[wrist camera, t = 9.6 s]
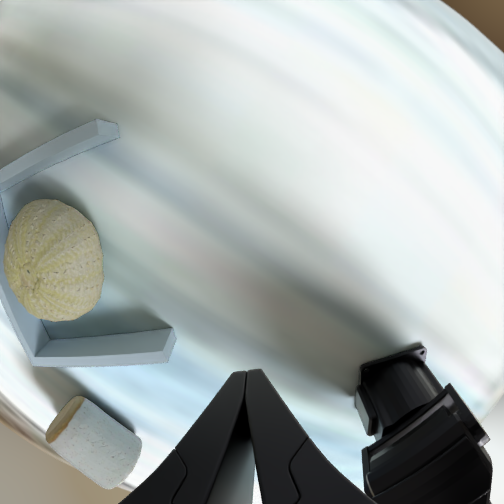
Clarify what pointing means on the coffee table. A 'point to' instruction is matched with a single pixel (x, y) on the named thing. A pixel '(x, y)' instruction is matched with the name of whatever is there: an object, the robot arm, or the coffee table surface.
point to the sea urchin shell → (54, 261)
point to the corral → (31, 328)
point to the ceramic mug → (94, 442)
